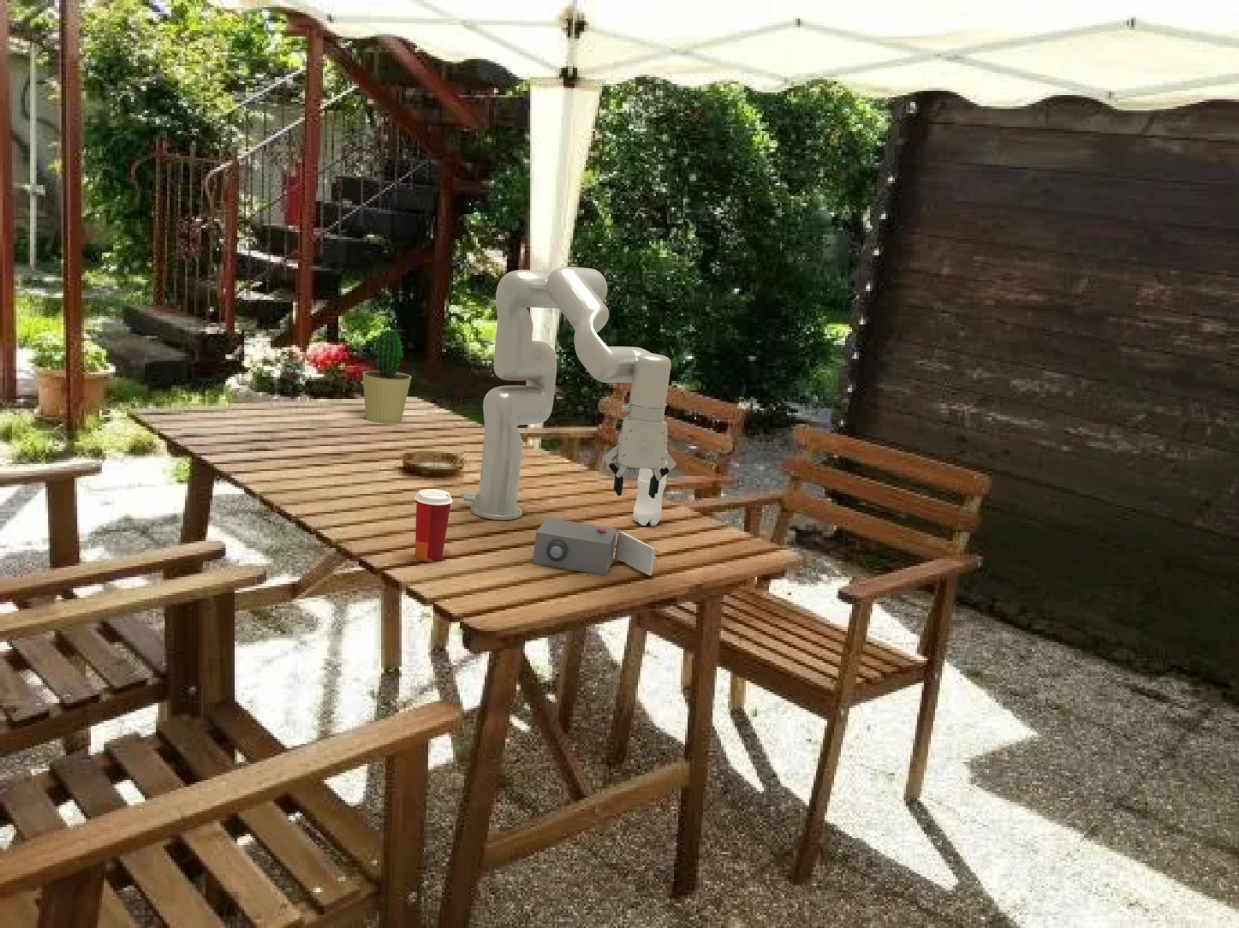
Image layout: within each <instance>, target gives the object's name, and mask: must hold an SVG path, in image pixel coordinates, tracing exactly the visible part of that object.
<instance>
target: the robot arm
mask: <svg viewBox="0 0 1239 928" xmlns="http://www.w3.org/2000/svg"><path fill="white" fill-rule="evenodd" d="M607 294H608V283H607V281H606V278H605V277H604V275H603V274H602V273H601V272H600V271H599V270H597V269H594V268H590V267H589V268H588V267H577V266H576V267H575V266H562V267H561V266H560V267H557V268H555V269H553V270H552V271H544V270H536V269H518V270H517V269H516V270H512V271H510V272H508V273H506V274H505V275H503V277H501V279H500V280H499V282H498V284H497V287H496V292H495V305H496V317H497V321H496V332H495V341H494V343H495V345H494V353H493V354H494V355H493V370H494V373H495V375H496V377H497V378H498V379H501V380H503V381H513V382H514V381H517V382H519V381H526V382H525V385H520V384H519V385H501V386H500V385H499V386H496V387H493V388H492V389H490V390H489V391H488V392H487V393H486V394H485V396H484V398H483V401H482V402H483V404H482V409H483V421H484V431H483V432H484V433H483V446H482V455H481V464H480V465H481V466H480V475H479V484H478V485H479V486H478V491H474V492H472V491H467V490H462V491H461V495H460V497H461V499H463V501H466V502H472V504H470V511H471V513H472V514H473V515H476V516H478V517H481V518H484V519H489V520H496V521H497V520H498V521H509V520H510V521H511V520H516V519H519V518H521V517H522V516H523V510H522V508H521V507H520V506H518V498H519V497H518V495H519V487H520V478H521V477H520V476H521V469H522V460H523V449H524V447H523V446H524V443H523V438H522V436H521V434H520V431H519V428H518V426H525V425H537V424H542V423H544V422H546V421H547V420H548V419H549V418H550V416H551V414H552V411H553V406H554V397H555V387H556V378H557V368H558V367H557V365H558V363H557V362H558V361H557V357H556V353H555V351H554V348H553V347H552V345H550V344H549V343H547V342H545V341H540V340H533V331H534V323H533V319H532V316H531V314H530V313H531V312H530V311H529V310H528V308H535V309H536V308H538V309H557V310H558V309H559V311H560V312H561V313H562V314H563V316H564V317H565V318H566V320H567V321H568V322H569V324H570V325H571V326H572V328H574V329H573V330H574V331H575V332H574V337H573V343H574V351H575V353H576V356H577V359H578V360H579V362H580V363H581V365H583V367H584V368H585V370H586V371H587V372H588V373H589V375H590V376H592V377H593V378H594V379H595V380H596V381H598V382H600V383H606V384H607V383H608V384H614V383H615V384H616V383H617V384H618V383H625V384H626V383H631V387H630V394H629V395H630V397H629V401H628V404H627V405H622V406H621V412H622V413H625V414H627V416H624V418H623V421H622V423H621V427H620V430H619V431H620V432H619V435H618V440H617V442H616V445H615V446H614V447H613V448H612V449H610V450H608V451H607V452H605V453H604V454H603V456H602V459H603V461H604V462H605V464H606V465H607V466H608V467H609V469H610V470H611V472H613V474H614V482H613V483H614V484H613V491H615V494H616V495H617V496H618V497H621V496H622V495H623V494H622V493H623V488H624V487H623V486H624V477H623V474H624V473H625V471H626V469H627V468H633V469H634V468H636V469H637V468H638V469H640V468H646V469H652V472H653V477H652V478H651V479H650V486H649V496H650V497H651V498H655V494H657V493H658V487H659V481H660V480H661V479H662V477H664V476H665V475H666V474H667V475H668V474H669V473H670V471H671V470H673V469H674V468H675V467H676V466H677V462H676V460H674V458H673V457H672V456H671V455H670V454H669V453H667V452H668V423H667V421H665V420H664V418H665V410H666V403H667V396H668V389H669V383H670V375H671V367H672V362H671V359H670V358H669V357H668V356H665V355H662V354H658V353H652V352H650V351H648V350H646V349H644V348H642V347H638V346H608V345H606V343H605V342H604V341H603V340H602V339H601V337H600V336H599V335H598V333H599V332H600V331H601V330H602V329H604V327H605V325H607V322H608V321H609V318H610V311H609V309H608V307H607V305H606V304H605V303H604V301H605V300H606V297H607ZM614 457H615V459H616V460H617V462H618V463H617V465H616V464H615V463H614V462H613V461H612V459H613V458H614ZM666 460H667V462H668V463H667V464H666V465H665V462H666ZM659 469H660V470H659Z"/></svg>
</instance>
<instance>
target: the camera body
mask: <svg viewBox="0 0 1239 928" xmlns="http://www.w3.org/2000/svg"><path fill="white" fill-rule="evenodd" d="M617 536H618V528H615V527H614V528H613V527H608V526H602V525H596V524H595V525H594V524H589V523H583V522H577V521H572V520H564V519H559V518H558V519H557V518H554V517H553V518H551V517H546V518H545V520H544V521H543V523H542V524H541V525H540V526H539V528H538V529H537V531H536V532H535V538H534V539H535V540H534V545H533V546H534V548H533V556H532V564H536V565H540V566H541V565H542V566H547V567H552V568H553V567H554V568H560V569H565V570H571V571H577V572H583V573H589V574H595V575H600V576H601V575H602V576H606V575H607V573H608V571H609V569H610V566H611V565H612V562H613V560H614V558H615V551H616V543H617Z"/></svg>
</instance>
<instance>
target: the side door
mask: <svg viewBox="0 0 1239 928" xmlns="http://www.w3.org/2000/svg"><path fill="white" fill-rule="evenodd" d="M656 552H657V551H656V548H655V547H653V546H652V545H649V544H647V543H646V542H643V541H642V540H639V539H637V538H636V537H634V536H633V535H630V534H628V533H626V532H624V531H623V530H621V529H617V536H616V544H615V551H614V558H615V559H617V560H620V561H622V562H624V563H625V564H628V565H629V566H631V567H632V568H634V569H637V570H638V571H640V572H642V573H644V574H646V575H648V576H652V575H653V570H654V565H657V559H658V557H657V556H656Z"/></svg>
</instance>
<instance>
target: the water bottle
mask: <svg viewBox="0 0 1239 928" xmlns="http://www.w3.org/2000/svg"><path fill="white" fill-rule="evenodd" d="M667 453H668V451H667ZM668 454H669V453H668ZM667 463H668V462H667V460H666V462H665V465H666V464H667ZM659 470H660V469H659ZM638 471H639V472H638V477H637V480H636V481H637V497H636V499H635V504H634V506H633V512H632V514H633V519H634V522H635V523H638V524H639V525H640V526H644V527H645V526H647V524H648V523H649V525H650V526H651V527H654V526H657V524H658V523H660V520H661V518H662V514H663V510H662V509H663V505H662V504H663V502H662V501H663V495H664V491H665V488H666V486H667V477H668V476H667V475H668V473H667V474H666V475H665V476H664V477H662V479H661V480H660V481H659V487H658V493H657V494H655V498H651V497H650V496H649V486H650V479H651V478H652V477H653V472H652V469H646V468H639V469H638Z"/></svg>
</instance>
